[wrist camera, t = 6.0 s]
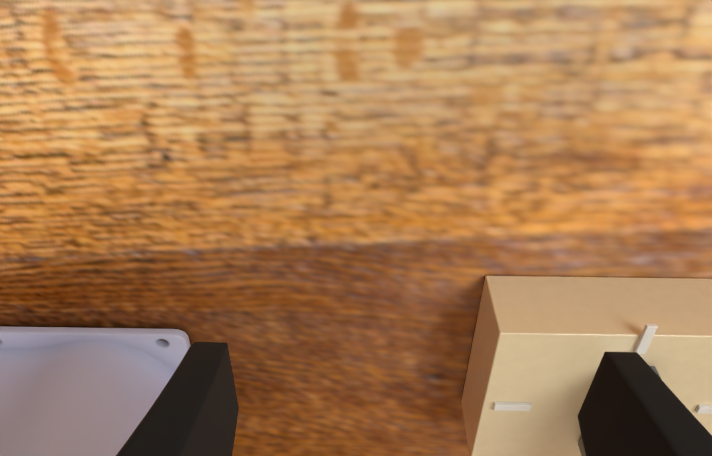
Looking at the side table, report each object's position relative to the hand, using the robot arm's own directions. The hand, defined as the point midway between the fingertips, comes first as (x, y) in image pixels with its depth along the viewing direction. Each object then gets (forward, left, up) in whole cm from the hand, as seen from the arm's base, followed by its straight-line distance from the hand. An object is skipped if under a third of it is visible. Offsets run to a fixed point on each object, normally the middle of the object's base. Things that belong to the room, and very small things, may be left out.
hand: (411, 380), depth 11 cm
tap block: (+9, -10, -9) cm, 16 cm away
